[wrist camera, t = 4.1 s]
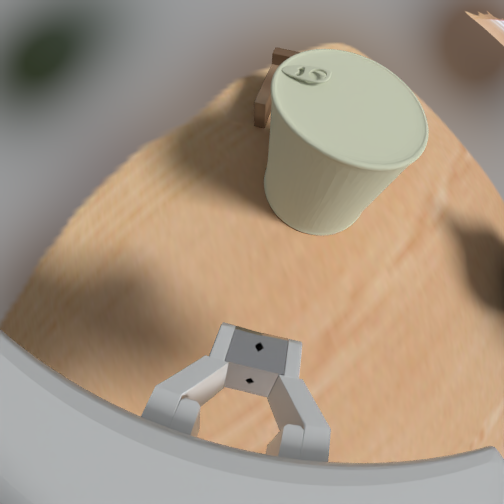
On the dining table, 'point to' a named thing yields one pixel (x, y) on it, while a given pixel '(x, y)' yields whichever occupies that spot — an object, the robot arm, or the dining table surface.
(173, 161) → the dining table surface
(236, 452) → the robot arm
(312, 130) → the can
